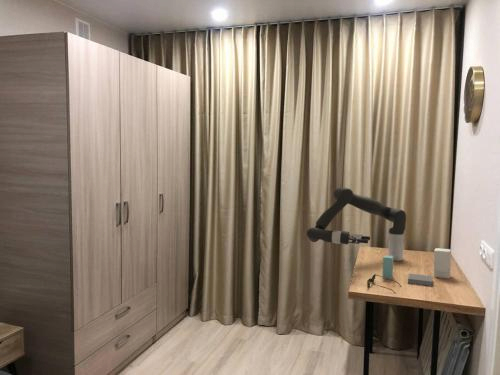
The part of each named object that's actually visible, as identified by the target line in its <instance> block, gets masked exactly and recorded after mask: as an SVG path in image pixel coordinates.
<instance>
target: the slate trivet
mask: <svg viewBox="0 0 500 375" xmlns="http://www.w3.org/2000/svg"><path fill="white" fill-rule="evenodd" d="M407 284H411V285H418V286H419V285H420V286H427V287H433V275H426V274H425V275H424V274H416V273H408V278H407Z"/></svg>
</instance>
